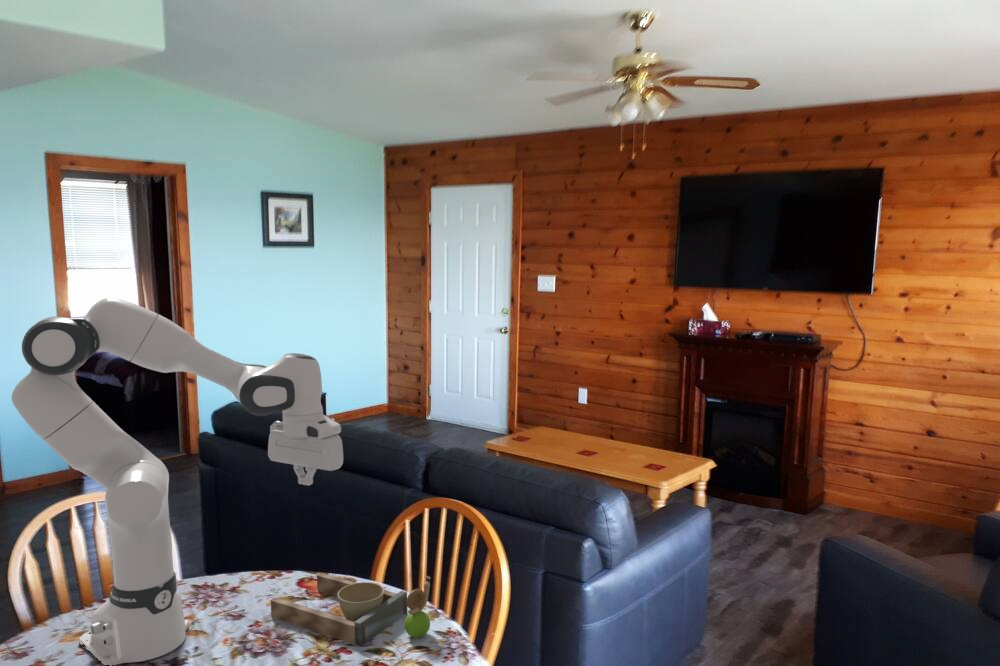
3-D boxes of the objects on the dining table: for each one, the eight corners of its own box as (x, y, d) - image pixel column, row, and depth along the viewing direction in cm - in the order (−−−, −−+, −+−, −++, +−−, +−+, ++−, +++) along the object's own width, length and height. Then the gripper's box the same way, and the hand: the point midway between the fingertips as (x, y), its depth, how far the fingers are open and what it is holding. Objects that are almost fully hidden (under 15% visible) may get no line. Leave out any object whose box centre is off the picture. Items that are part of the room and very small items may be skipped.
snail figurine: (439, 633, 151) (437, 579, 150) (416, 645, 146) (415, 590, 145) (421, 625, 155) (420, 572, 154) (399, 636, 150) (398, 582, 149)
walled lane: (271, 617, 159) (270, 595, 159) (321, 588, 173) (321, 569, 172) (360, 646, 146) (360, 623, 146) (407, 613, 160) (406, 592, 160)
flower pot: (373, 636, 150) (372, 604, 150) (330, 631, 152) (329, 600, 152) (391, 614, 160) (390, 583, 159) (350, 609, 162) (349, 579, 161)
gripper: (260, 422, 162) (262, 481, 164) (326, 432, 152) (329, 494, 154) (280, 417, 168) (283, 474, 169) (346, 426, 158) (348, 486, 159)
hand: (305, 484), depth 161 cm, fingers closed
